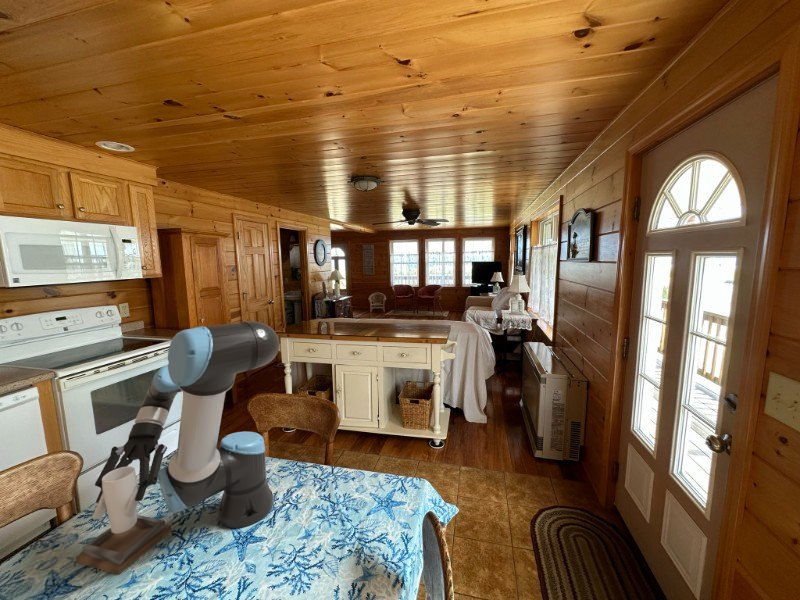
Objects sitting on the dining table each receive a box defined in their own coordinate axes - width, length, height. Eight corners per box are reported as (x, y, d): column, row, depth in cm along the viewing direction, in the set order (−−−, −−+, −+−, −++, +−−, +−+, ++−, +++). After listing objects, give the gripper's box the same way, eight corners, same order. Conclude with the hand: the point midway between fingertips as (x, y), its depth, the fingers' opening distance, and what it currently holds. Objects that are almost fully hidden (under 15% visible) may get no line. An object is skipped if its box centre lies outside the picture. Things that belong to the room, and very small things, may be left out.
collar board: (171, 530, 94) (170, 518, 93) (119, 574, 80) (117, 561, 80) (133, 521, 97) (132, 510, 97) (76, 562, 83) (74, 549, 83)
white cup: (121, 539, 84) (115, 483, 83) (100, 535, 85) (94, 480, 84) (147, 519, 91) (141, 467, 89) (126, 515, 92) (121, 464, 90)
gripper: (189, 427, 103) (161, 516, 88) (120, 431, 101) (80, 522, 86) (178, 419, 97) (146, 512, 82) (105, 422, 95) (59, 518, 80)
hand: (112, 517), depth 84 cm, fingers closed on white cup, 7 cm apart
